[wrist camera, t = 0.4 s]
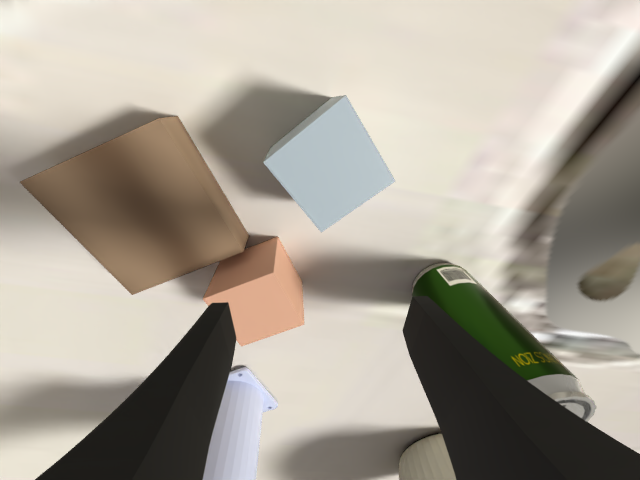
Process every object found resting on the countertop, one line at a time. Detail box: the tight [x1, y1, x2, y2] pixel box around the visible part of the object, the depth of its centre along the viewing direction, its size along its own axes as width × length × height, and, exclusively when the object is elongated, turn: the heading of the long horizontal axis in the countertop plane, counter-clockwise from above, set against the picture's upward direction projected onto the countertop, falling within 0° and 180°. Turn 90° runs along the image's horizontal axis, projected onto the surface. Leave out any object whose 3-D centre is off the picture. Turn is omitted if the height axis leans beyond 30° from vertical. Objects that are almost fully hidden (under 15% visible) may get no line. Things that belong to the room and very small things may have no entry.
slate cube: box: [263, 95, 395, 232], centre depth 15 cm, size 5×5×5 cm
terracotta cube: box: [203, 237, 304, 346], centre depth 19 cm, size 5×5×5 cm
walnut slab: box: [20, 116, 249, 295], centre depth 17 cm, size 9×9×2 cm
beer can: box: [412, 263, 596, 422], centre depth 19 cm, size 5×5×12 cm
